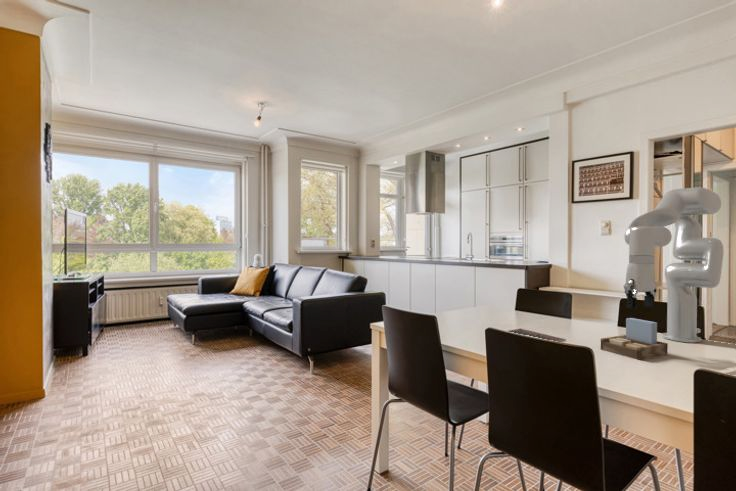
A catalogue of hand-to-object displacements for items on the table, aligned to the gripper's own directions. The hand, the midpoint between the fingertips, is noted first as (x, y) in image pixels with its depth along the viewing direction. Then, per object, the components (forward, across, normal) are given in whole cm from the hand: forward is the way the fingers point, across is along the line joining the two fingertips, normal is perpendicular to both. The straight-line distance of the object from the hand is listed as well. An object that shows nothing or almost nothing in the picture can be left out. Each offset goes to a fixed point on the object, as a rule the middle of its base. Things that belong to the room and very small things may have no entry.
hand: (640, 307), depth 142 cm
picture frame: (+18, +21, -31) cm, 42 cm away
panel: (+16, -1, 0) cm, 16 cm away
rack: (+17, +3, 0) cm, 17 cm away
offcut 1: (+16, +6, -3) cm, 17 cm away
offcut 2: (+16, +6, +3) cm, 17 cm away
